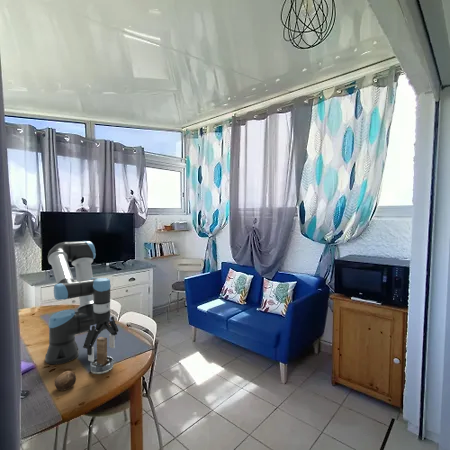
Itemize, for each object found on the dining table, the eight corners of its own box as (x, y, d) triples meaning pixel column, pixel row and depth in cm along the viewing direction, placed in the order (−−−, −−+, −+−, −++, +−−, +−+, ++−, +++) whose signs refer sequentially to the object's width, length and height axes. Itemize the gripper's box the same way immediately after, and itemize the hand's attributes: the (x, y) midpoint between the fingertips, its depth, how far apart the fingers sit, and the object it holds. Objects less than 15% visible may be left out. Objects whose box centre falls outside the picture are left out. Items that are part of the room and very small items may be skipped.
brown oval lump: (61, 372, 126) (62, 365, 122) (78, 378, 126) (80, 371, 123) (50, 390, 119) (50, 383, 116) (68, 396, 120) (69, 390, 116)
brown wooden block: (103, 368, 133) (103, 340, 133) (96, 366, 135) (96, 338, 134) (107, 366, 136) (106, 338, 135) (100, 364, 137) (100, 336, 136)
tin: (102, 376, 129) (102, 368, 129) (85, 371, 132) (85, 364, 132) (117, 365, 138) (117, 358, 138) (101, 361, 142) (101, 354, 142)
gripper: (87, 321, 121) (87, 368, 122) (125, 304, 145) (125, 343, 146) (74, 318, 124) (74, 365, 125) (114, 302, 147) (114, 341, 148)
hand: (102, 353), depth 135 cm, fingers open, 13 cm apart
